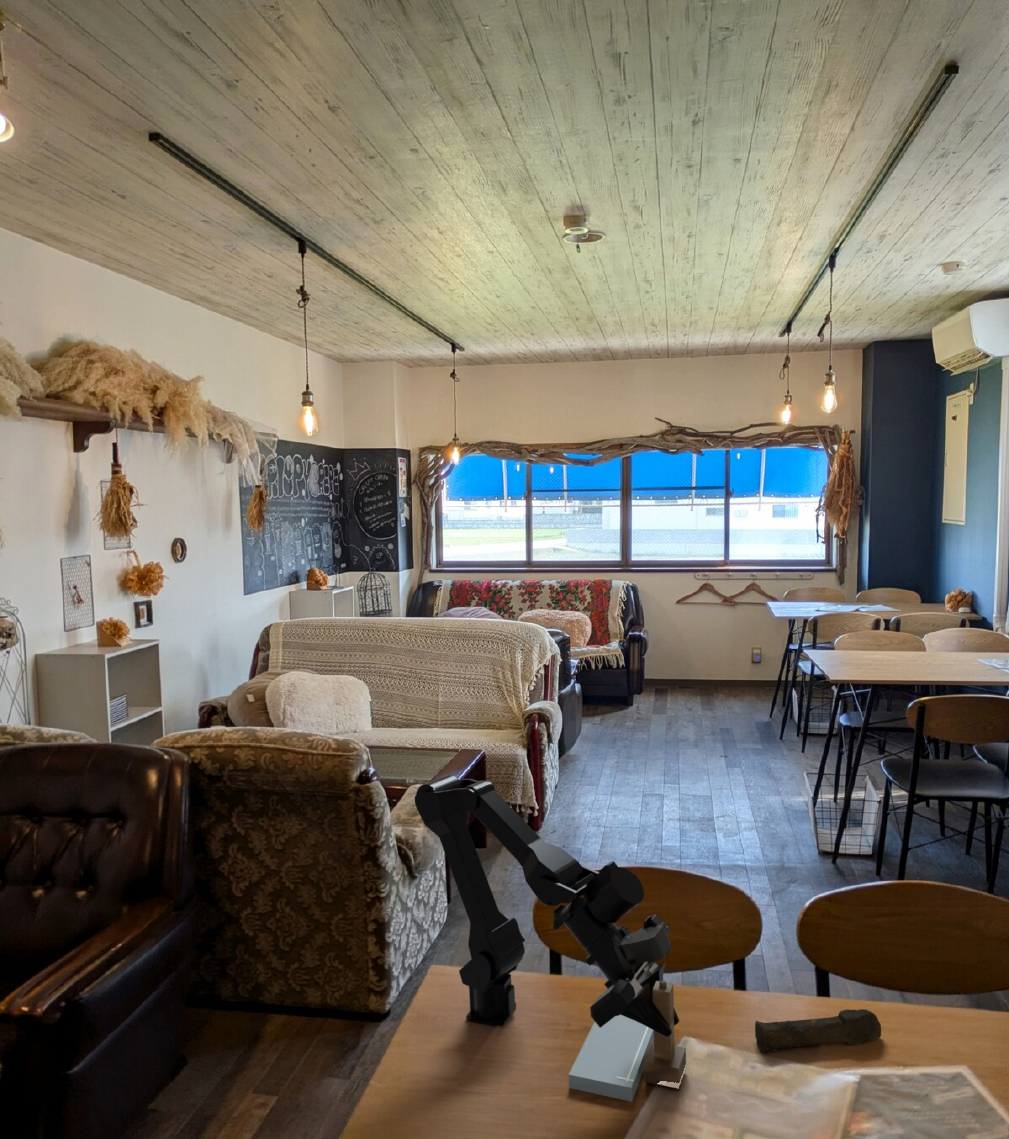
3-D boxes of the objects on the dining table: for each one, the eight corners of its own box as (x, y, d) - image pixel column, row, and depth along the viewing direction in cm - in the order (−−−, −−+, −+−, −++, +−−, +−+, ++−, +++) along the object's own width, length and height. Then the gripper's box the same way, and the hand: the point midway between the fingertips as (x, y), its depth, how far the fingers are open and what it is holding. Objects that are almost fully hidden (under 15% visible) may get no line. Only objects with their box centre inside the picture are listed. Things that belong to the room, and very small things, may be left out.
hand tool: (762, 1058, 128) (761, 1027, 128) (753, 1041, 132) (753, 1011, 132) (889, 1051, 129) (889, 1021, 128) (876, 1034, 132) (876, 1005, 132)
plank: (569, 1087, 123) (568, 1073, 123) (604, 1013, 140) (604, 1001, 140) (631, 1101, 119) (631, 1087, 119) (660, 1024, 137) (659, 1011, 137)
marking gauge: (643, 1081, 123) (641, 988, 122) (651, 1060, 127) (649, 970, 126) (679, 1089, 121) (677, 995, 120) (686, 1067, 125) (684, 976, 124)
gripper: (608, 935, 116) (690, 1037, 111) (658, 881, 132) (731, 968, 127) (557, 977, 121) (634, 1077, 116) (611, 920, 137) (680, 1006, 132)
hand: (673, 1029), depth 123 cm, fingers closed on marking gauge, 3 cm apart
